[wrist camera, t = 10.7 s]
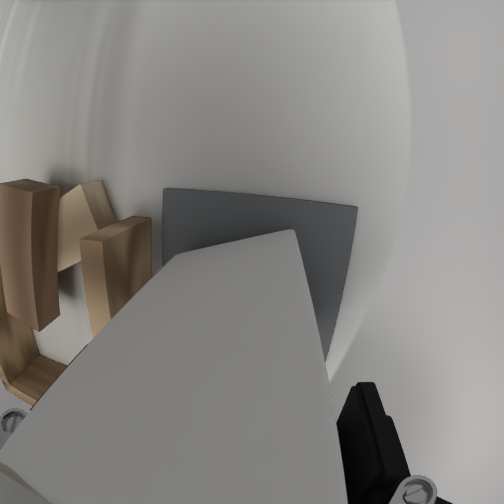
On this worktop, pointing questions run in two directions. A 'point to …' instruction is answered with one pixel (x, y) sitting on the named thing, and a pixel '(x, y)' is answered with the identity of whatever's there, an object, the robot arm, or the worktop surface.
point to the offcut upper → (30, 250)
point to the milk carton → (194, 392)
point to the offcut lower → (81, 220)
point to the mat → (264, 222)
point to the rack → (97, 295)
